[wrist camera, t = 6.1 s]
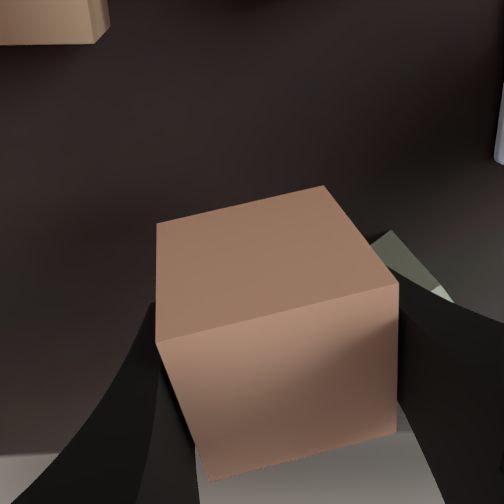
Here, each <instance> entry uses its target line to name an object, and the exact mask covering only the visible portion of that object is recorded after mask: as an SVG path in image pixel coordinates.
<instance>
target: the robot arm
mask: <svg viewBox="0 0 504 504" xmlns="http://www.w3.org/2000/svg"><path fill="white" fill-rule="evenodd" d="M494 159H495V161H496V162H498V163H500V164H502V165H504V84H503V92H502V99H501V106H500V114H499V121H498V128H497V136H496V143H495V150H494ZM385 266H386V265H385ZM386 267H387V268H388V269H389V271H390V272H391V273H392V275H393V276H394V277H395V278H396V280H397V281H398V282H399V311H398V365H397V401H398V402H399V404H400V406H401V408H402V410H403V412H404V413H405V415H406V418H407V420H408V422H409V424H410V426H411V428H412V430H413V432H414V434H415V437H416V439H417V441H418V443H419V445H420V447H421V449H422V452H423V454H424V456H425V458H426V460H427V463H428V465H429V467H430V469H431V472H432V474H433V476H434V478H435V481H436V483H437V485H438V488H439V490H440V492H441V495H442V497H443V499H444V502H445V504H504V323H501V322H498V321H496V320H493V319H490V318H488V317H485V316H483V315H480V314H478V313H475V312H473V311H471V310H468V309H466V308H463V307H461V306H459V305H457V304H455V303H452V302H450V301H448V300H446V299H444V298H442V297H440V296H439V295H437V294H435V293H433V292H431V291H429V290H427V289H425V288H423V287H422V286H420V285H418V284H416V283H414V282H413V281H411V280H409V279H408V278H406V277H404V276H403V275H401V274H399V273H398V272H396V271H394V270H393V269H391V268H390V267H388V266H386ZM155 336H156V302H153V303H151V304H150V306H149V307H148V310H147V313H146V315H145V318H144V320H143V322H142V325H141V327H140V329H139V332H138V334H137V336H136V338H135V340H134V342H133V344H132V346H131V348H130V351H129V353H128V355H127V357H126V359H125V361H124V362H123V364H122V366H121V368H120V370H119V371H118V373H117V375H116V377H115V378H114V380H113V382H112V384H111V385H110V387H109V389H108V390H107V392H106V393H105V395H104V396H103V398H102V400H101V401H100V403H99V404H98V405H97V407H96V408H95V410H94V411H93V413H92V414H91V415H90V417H89V418H88V419H87V421H86V422H85V423H84V425H83V426H82V427H81V429H80V430H79V431H78V432H77V434H76V435H75V436H74V437H73V439H72V440H71V441H70V442H69V444H68V445H67V446H66V447H65V448H64V450H63V451H62V452H61V453H60V454H59V455H58V457H56V459H55V460H54V461H53V462H52V463H51V464H50V465H49V466H48V467H47V468H46V470H44V472H43V473H42V474H41V475H40V476H39V477H38V478H37V479H36V480H35V481H34V482H33V483H32V484H31V485H30V486H29V487H28V488H27V489H26V490H25V491H24V492H23V493H21V495H19V496H18V497H17V498H16V499H15V500H14V501H13V502H12V503H11V504H200V500H199V491H198V483H197V474H196V461H195V443H194V440H193V438H192V435H191V433H190V430H189V427H188V425H187V422H186V420H185V417H184V415H183V412H182V410H181V407H180V404H179V402H178V399H177V397H176V394H175V392H174V389H173V386H172V384H171V381H170V379H169V376H168V374H167V371H166V368H165V366H164V363H163V361H162V358H161V356H160V353H159V351H158V348H157V345H156V343H155Z"/></svg>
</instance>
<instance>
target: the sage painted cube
mask: <svg viewBox="0 0 504 504" xmlns="http://www.w3.org/2000/svg"><path fill="white" fill-rule="evenodd" d="M370 246H371V247H372V249H373V250H374V251H375V253H376V254H377V255H378V256H379V258H380V259H381V260H382V262H383V263H384V264H385V265H386V266H388V267H390V268H391V269H393V270H394V271H396V272H398V273H399V274H401V275H403V276H404V277H406V278H408V279H409V280H411V281H413V282H414V283H416V284H418V285H420V286H422V287H423V288H425V289H427V290H429V291H431V292H433V293H435V294H437V295H439V296H440V297H442V298H444V299H446V300H448V301H450V302H452V303H454V302H453V301H452V299H451V298H450V297H449V295H448V294H447V293H446V291H445V290H444V289H443V287H442V286H441V285H440V284H439V282H438V281H437V280H436V279H435V278H434V277H433V276H432V275H431V274H430V272H429V271H428V270H427V269H426V268H425V267H424V266H423V265H422V264H421V262H420V261H419V260H418V259H417V258H416V257H415V256H414V255H413V254H412V252H411V251H410V250H409V249H408V248H407V247H406V246H405V245H404V244H403V242H402V241H401V240H400V239H399V238H398V237H397V236H396V235H395V234H394V232H393V231H392V230H390V231H389V232H387V233H386V234H385V235H383V236H382V237H381V238H379V239H378V240H377V241H375V242H374V243H373V244H371V245H370Z"/></svg>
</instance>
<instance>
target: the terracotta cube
mask: <svg viewBox="0 0 504 504" xmlns="http://www.w3.org/2000/svg"><path fill="white" fill-rule="evenodd" d="M398 311H399V282H398V281H397V280H396V278H395V277H394V276H393V275H392V273H391V272H390V271H389V269H388V268H387V267H386V266H385V264H384V263H383V262H382V260H381V259H380V258H379V256H378V255H377V254H376V253H375V251H374V250H373V249H372V247H371V246H370V245H369V243H368V242H367V241H366V240H365V238H364V237H363V236H362V234H361V233H360V232H359V231H358V229H357V228H356V227H355V225H354V224H353V223H352V221H351V220H350V219H349V218H348V216H347V215H346V214H345V212H344V211H343V210H342V208H341V207H340V206H339V205H338V203H337V202H336V201H335V199H334V198H333V197H332V196H331V194H330V193H329V192H328V190H327V189H326V188H325V186H324V185H323V186H318V187H314V188H310V189H305V190H301V191H297V192H292V193H288V194H284V195H279V196H275V197H270V198H266V199H262V200H257V201H253V202H249V203H244V204H240V205H236V206H231V207H227V208H222V209H218V210H214V211H209V212H205V213H201V214H196V215H192V216H188V217H183V218H179V219H175V220H170V221H166V222H161V223H157V244H156V336H155V343H156V345H157V348H158V351H159V353H160V356H161V358H162V361H163V363H164V366H165V368H166V371H167V374H168V376H169V379H170V381H171V384H172V386H173V389H174V392H175V394H176V397H177V399H178V402H179V404H180V407H181V410H182V412H183V415H184V417H185V420H186V422H187V425H188V427H189V430H190V433H191V435H192V438H193V440H194V443H195V445H196V448H197V451H198V453H199V456H200V458H201V461H202V463H203V466H204V469H205V471H206V474H207V476H208V479H209V481H210V482H213V481H217V480H221V479H224V478H228V477H232V476H236V475H240V474H243V473H247V472H251V471H255V470H258V469H262V468H266V467H270V466H273V465H277V464H281V463H284V462H288V461H292V460H296V459H300V458H304V457H308V456H311V455H315V454H319V453H323V452H326V451H330V450H334V449H338V448H341V447H345V446H349V445H353V444H357V443H360V442H364V441H368V440H372V439H376V438H379V437H383V436H387V435H391V434H395V433H396V419H397V365H398Z"/></svg>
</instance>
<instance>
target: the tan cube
mask: <svg viewBox="0 0 504 504" xmlns="http://www.w3.org/2000/svg"><path fill="white" fill-rule="evenodd" d="M110 26H111V25H110V18H109V11H108V4H107V0H0V45H45V44H94V43H95V42H96V41H97V40H98V39H99V38H100V37H101V36H102V35H103V34H104V33H105V32H106V31H107V30H108V29H109V28H110Z"/></svg>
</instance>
